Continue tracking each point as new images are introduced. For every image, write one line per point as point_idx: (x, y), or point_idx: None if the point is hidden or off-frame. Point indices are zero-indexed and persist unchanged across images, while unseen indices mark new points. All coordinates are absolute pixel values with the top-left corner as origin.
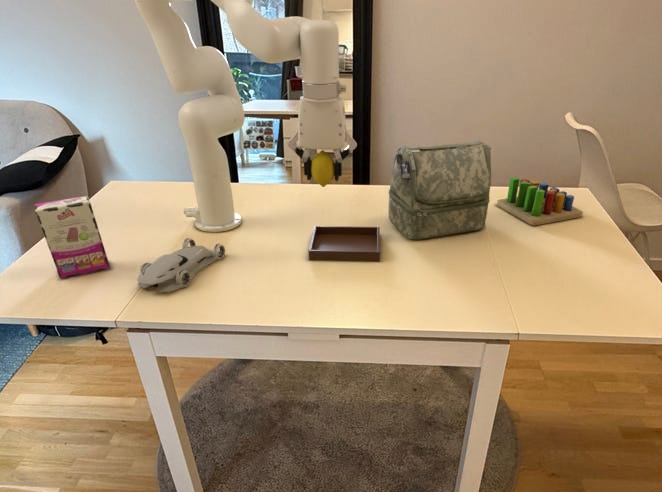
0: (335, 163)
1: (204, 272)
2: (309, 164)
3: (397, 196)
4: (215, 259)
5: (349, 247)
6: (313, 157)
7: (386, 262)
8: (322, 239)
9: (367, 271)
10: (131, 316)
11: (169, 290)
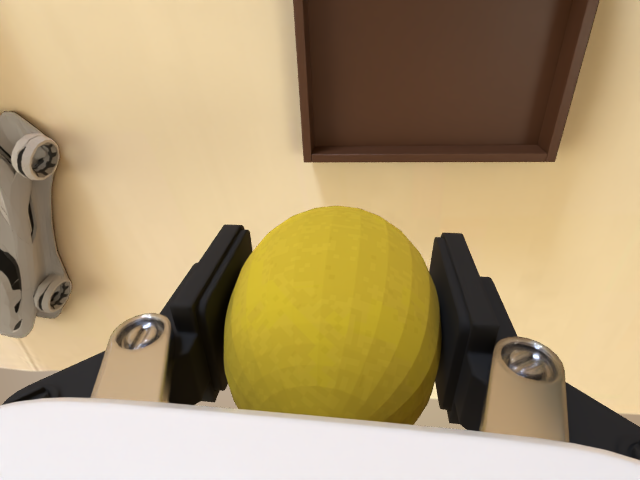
0: (450, 419)
1: (66, 227)
2: (224, 384)
3: None
4: (51, 176)
5: (446, 55)
6: (236, 403)
7: (564, 154)
8: None
9: (487, 213)
10: (52, 365)
11: (55, 315)
